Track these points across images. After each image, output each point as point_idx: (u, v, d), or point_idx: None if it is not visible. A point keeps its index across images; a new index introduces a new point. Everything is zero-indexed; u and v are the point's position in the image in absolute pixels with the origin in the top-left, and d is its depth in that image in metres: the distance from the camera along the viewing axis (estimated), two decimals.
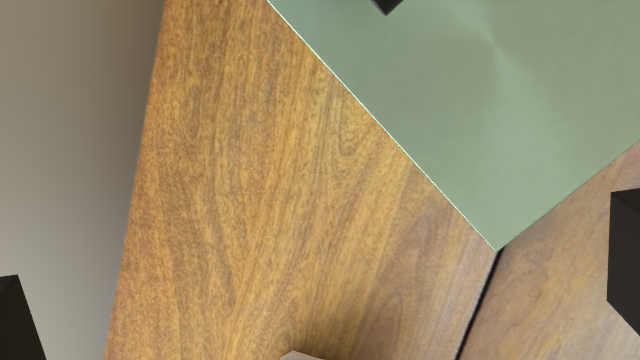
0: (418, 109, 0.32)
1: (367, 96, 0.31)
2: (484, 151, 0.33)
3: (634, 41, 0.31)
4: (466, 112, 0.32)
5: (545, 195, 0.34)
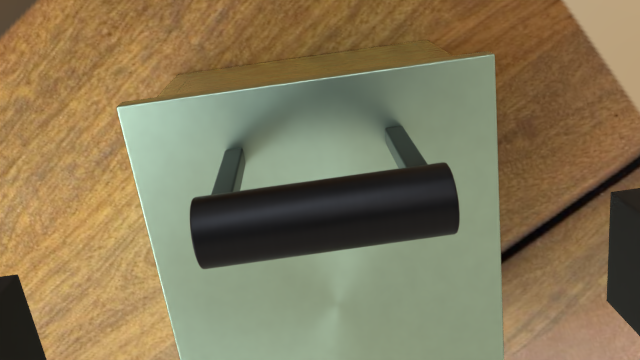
0: (219, 318, 0.25)
1: (171, 274, 0.24)
2: None
3: None
4: (268, 350, 0.26)
5: None
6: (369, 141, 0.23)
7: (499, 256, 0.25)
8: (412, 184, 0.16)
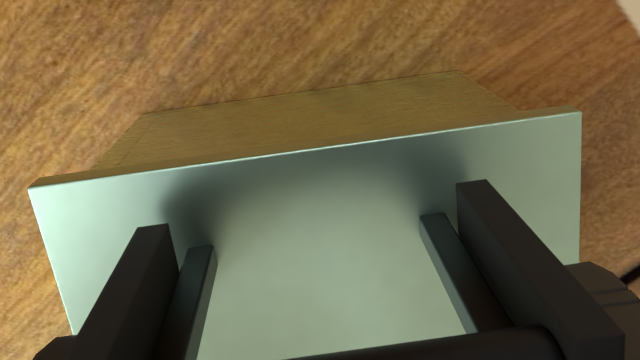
0: None
1: None
2: None
3: None
4: None
5: None
6: (396, 234, 0.16)
7: None
8: None
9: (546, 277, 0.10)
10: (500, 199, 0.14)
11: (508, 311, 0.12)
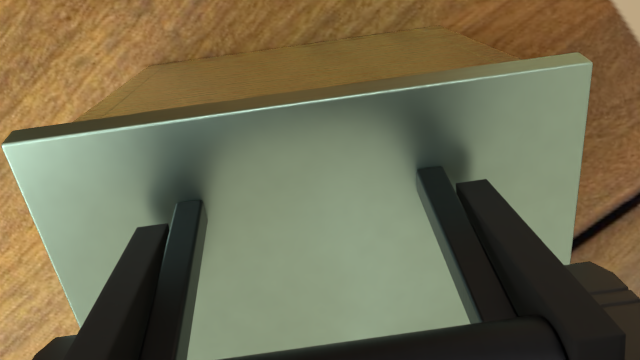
0: None
1: None
2: None
3: None
4: None
5: None
6: (391, 187, 0.15)
7: None
8: None
9: (546, 277, 0.10)
10: (500, 199, 0.14)
11: None
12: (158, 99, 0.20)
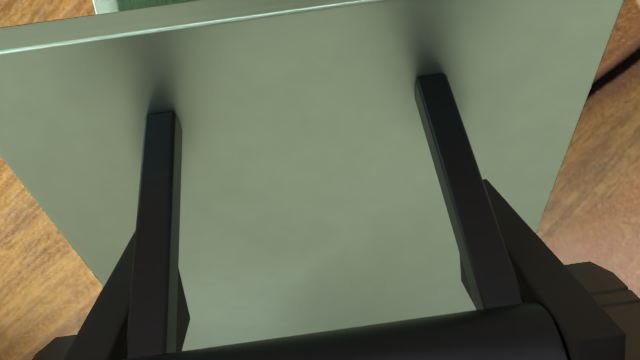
0: None
1: (90, 245, 0.17)
2: (229, 327, 0.22)
3: None
4: (233, 296, 0.21)
5: None
6: (387, 94, 0.14)
7: (544, 206, 0.18)
8: None
9: (546, 277, 0.10)
10: (500, 199, 0.14)
11: None
12: None
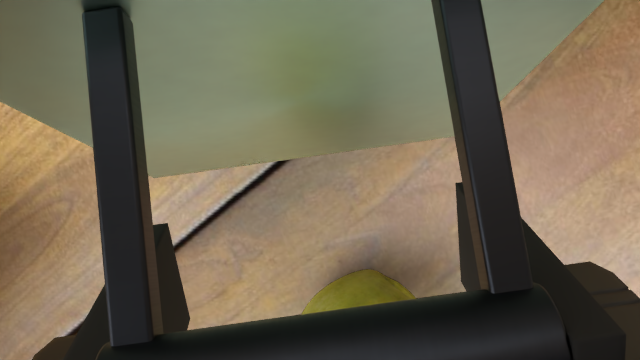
0: None
1: (37, 107, 0.15)
2: (199, 145, 0.22)
3: None
4: (202, 127, 0.19)
5: (243, 162, 0.26)
6: None
7: (550, 51, 0.16)
8: None
9: (547, 277, 0.10)
10: None
11: None
12: None
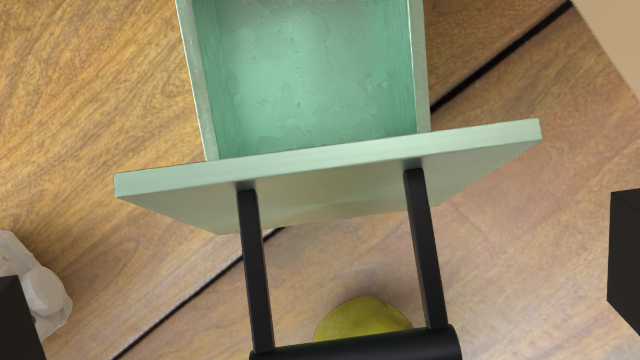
0: (225, 216, 0.29)
1: (182, 216, 0.26)
2: None
3: None
4: (266, 215, 0.31)
5: (282, 225, 0.37)
6: (385, 173, 0.22)
7: None
8: None
9: None
10: None
11: None
12: None
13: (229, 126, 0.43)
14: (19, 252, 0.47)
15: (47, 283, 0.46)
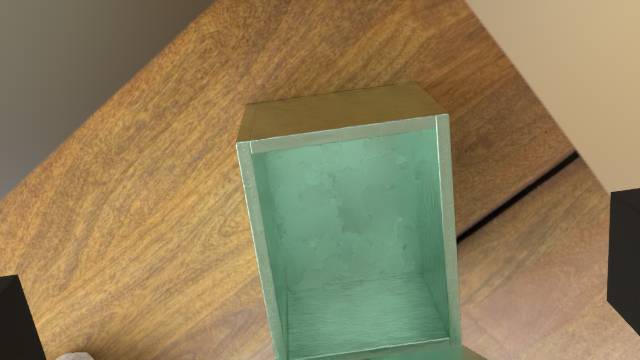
0: None
1: None
2: None
3: None
4: None
5: None
6: None
7: None
8: None
9: None
10: None
11: None
12: (271, 130, 0.41)
13: (281, 271, 0.50)
14: None
15: None
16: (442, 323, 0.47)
